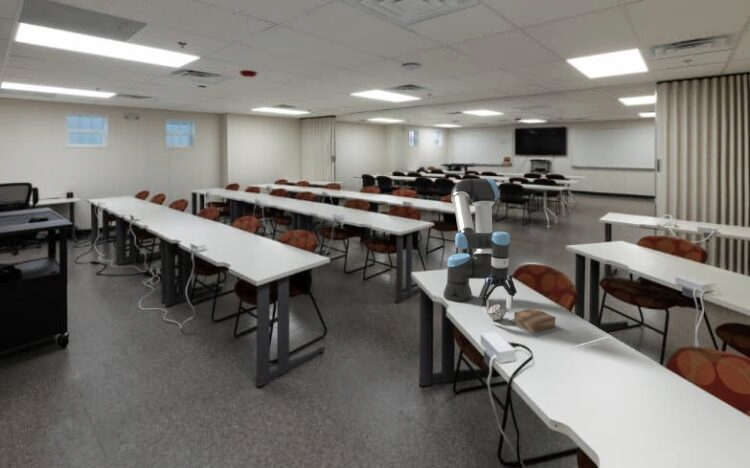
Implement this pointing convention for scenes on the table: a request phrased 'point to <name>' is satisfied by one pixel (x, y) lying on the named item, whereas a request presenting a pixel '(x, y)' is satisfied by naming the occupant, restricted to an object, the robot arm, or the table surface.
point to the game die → (496, 312)
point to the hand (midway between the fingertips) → (497, 310)
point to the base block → (534, 320)
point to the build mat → (537, 332)
